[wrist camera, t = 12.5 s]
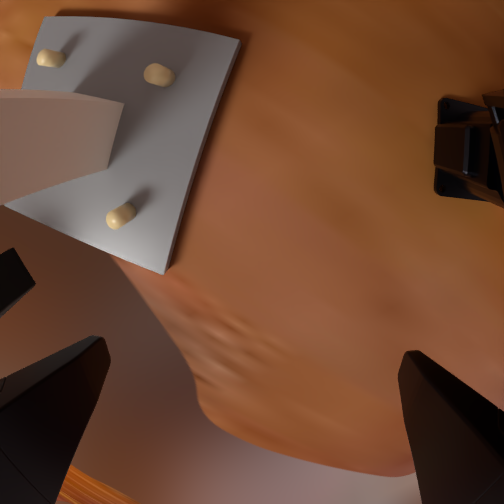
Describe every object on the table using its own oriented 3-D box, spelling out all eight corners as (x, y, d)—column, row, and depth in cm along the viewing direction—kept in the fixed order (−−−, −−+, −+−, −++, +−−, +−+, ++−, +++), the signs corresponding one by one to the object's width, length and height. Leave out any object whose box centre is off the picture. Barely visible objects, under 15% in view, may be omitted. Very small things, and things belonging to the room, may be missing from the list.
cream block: (124, 103, 18) (-48, 101, 6) (106, 169, 19) (-55, 229, 7) (72, 92, 17) (-88, 94, 5) (58, 153, 19) (-95, 197, 7)
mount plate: (241, 44, 17) (234, 30, 14) (168, 269, 23) (153, 288, 20) (51, 19, 16) (28, 11, 13) (11, 202, 22) (-12, 211, 19)
